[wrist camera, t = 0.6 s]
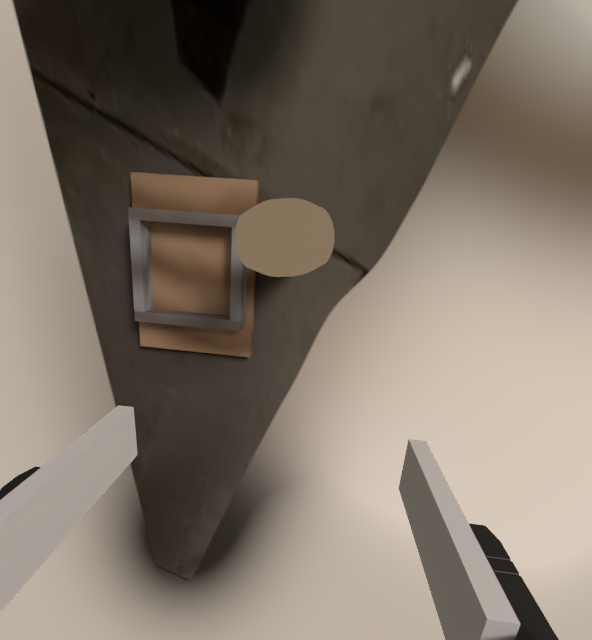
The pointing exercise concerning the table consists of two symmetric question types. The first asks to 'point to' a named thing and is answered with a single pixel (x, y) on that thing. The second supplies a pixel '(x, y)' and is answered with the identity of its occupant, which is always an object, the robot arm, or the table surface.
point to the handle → (284, 237)
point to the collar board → (191, 263)
